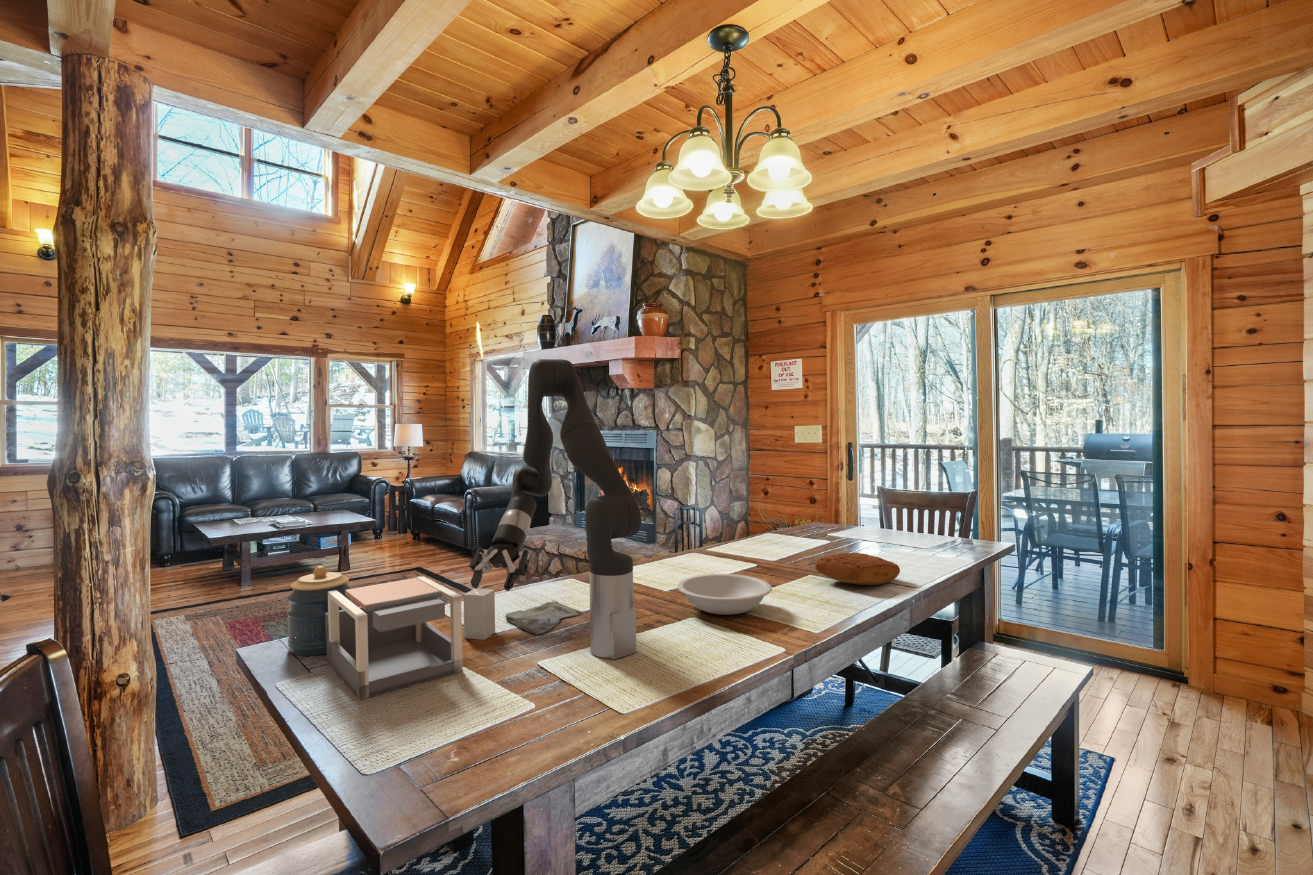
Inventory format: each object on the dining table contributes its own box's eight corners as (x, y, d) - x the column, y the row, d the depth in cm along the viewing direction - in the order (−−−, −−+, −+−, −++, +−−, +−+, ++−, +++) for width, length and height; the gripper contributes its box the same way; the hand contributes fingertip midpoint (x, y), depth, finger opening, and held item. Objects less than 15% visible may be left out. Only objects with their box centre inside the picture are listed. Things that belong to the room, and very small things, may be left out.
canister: (343, 631, 147) (341, 556, 146) (363, 645, 138) (361, 565, 137) (280, 645, 138) (278, 566, 137) (297, 662, 128) (295, 576, 128)
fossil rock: (550, 607, 166) (550, 598, 166) (592, 618, 157) (592, 609, 157) (496, 624, 152) (496, 615, 152) (538, 638, 143) (538, 627, 143)
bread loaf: (855, 595, 173) (856, 567, 173) (809, 582, 187) (809, 555, 187) (905, 583, 185) (905, 556, 185) (858, 571, 199) (858, 546, 199)
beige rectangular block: (495, 632, 145) (494, 589, 145) (484, 639, 141) (483, 595, 140) (475, 630, 147) (475, 588, 146) (464, 638, 142) (463, 594, 141)
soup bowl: (791, 614, 157) (791, 588, 157) (718, 633, 144) (718, 605, 144) (729, 592, 177) (729, 569, 177) (659, 607, 164) (659, 582, 163)
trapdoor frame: (462, 670, 123) (461, 595, 123) (359, 699, 111) (357, 616, 110) (419, 639, 141) (417, 573, 141) (326, 661, 129) (324, 589, 128)
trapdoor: (345, 609, 126) (345, 589, 126) (415, 596, 135) (415, 577, 135) (373, 633, 112) (373, 610, 112) (450, 616, 121) (449, 595, 121)
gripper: (481, 521, 158) (456, 578, 147) (533, 523, 154) (511, 581, 144) (492, 538, 163) (469, 594, 153) (542, 541, 160) (522, 598, 149)
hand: (490, 588), depth 148 cm, fingers open, 8 cm apart
